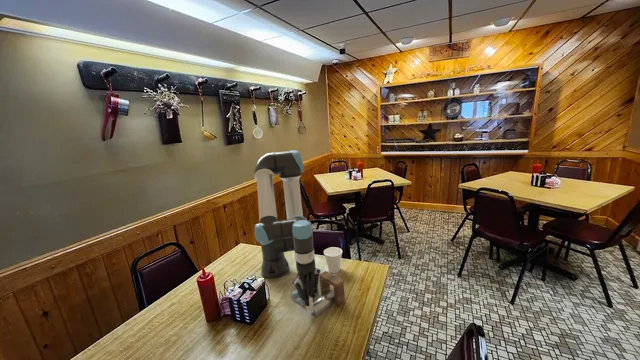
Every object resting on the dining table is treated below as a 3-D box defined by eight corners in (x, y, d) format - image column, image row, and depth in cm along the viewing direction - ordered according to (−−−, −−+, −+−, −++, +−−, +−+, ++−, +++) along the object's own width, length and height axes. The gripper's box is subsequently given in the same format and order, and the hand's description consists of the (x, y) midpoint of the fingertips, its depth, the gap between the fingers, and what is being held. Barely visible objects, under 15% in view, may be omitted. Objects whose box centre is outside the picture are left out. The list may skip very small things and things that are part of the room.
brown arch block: (321, 295, 117) (319, 274, 114) (327, 291, 119) (325, 270, 117) (338, 307, 109) (337, 284, 106) (344, 302, 111) (343, 280, 109)
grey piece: (316, 319, 104) (317, 310, 102) (308, 310, 107) (309, 302, 105) (337, 302, 113) (339, 294, 111) (329, 295, 116) (331, 287, 114)
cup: (343, 264, 140) (342, 246, 138) (343, 275, 131) (342, 256, 128) (325, 265, 141) (324, 247, 139) (324, 275, 132) (322, 256, 129)
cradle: (291, 297, 117) (290, 292, 116) (307, 287, 123) (307, 281, 123) (302, 306, 111) (301, 300, 110) (318, 294, 118) (318, 288, 117)
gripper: (298, 270, 92) (303, 324, 98) (323, 255, 101) (327, 306, 106) (286, 263, 98) (292, 315, 103) (311, 250, 106) (315, 298, 112)
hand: (310, 310), depth 105 cm, fingers closed
